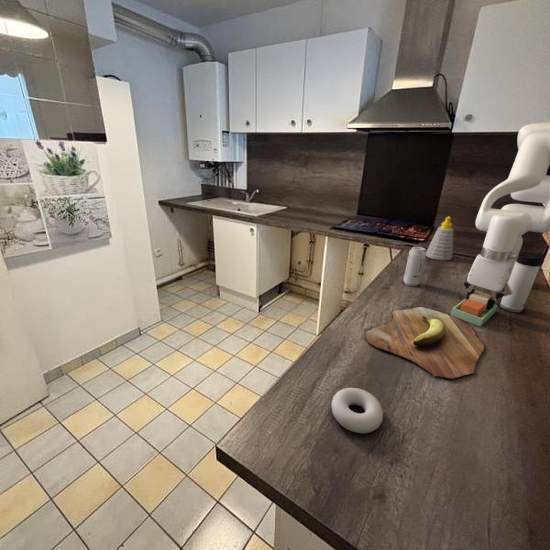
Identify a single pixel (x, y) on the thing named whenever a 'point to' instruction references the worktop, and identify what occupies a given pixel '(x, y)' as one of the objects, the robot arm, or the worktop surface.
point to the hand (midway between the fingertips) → (478, 304)
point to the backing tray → (471, 318)
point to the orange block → (472, 308)
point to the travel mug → (521, 281)
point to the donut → (355, 420)
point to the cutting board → (430, 341)
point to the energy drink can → (414, 266)
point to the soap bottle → (442, 242)
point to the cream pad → (480, 298)
